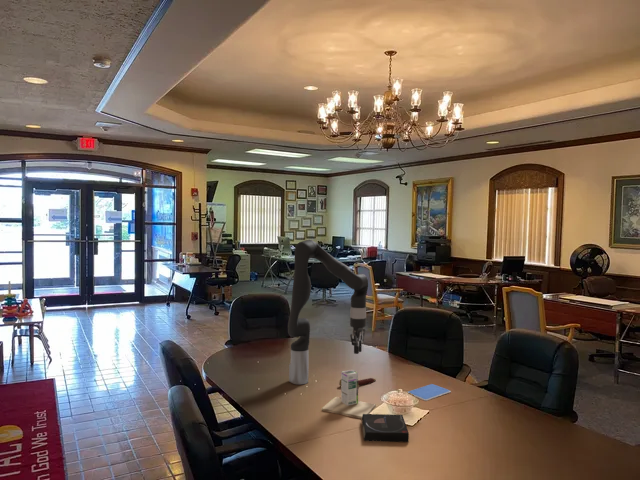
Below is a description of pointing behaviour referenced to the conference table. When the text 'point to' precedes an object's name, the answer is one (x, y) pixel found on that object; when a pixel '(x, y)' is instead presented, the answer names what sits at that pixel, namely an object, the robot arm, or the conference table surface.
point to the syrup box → (349, 387)
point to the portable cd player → (384, 428)
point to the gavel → (363, 381)
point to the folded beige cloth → (348, 408)
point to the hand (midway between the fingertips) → (357, 352)
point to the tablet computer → (429, 392)
